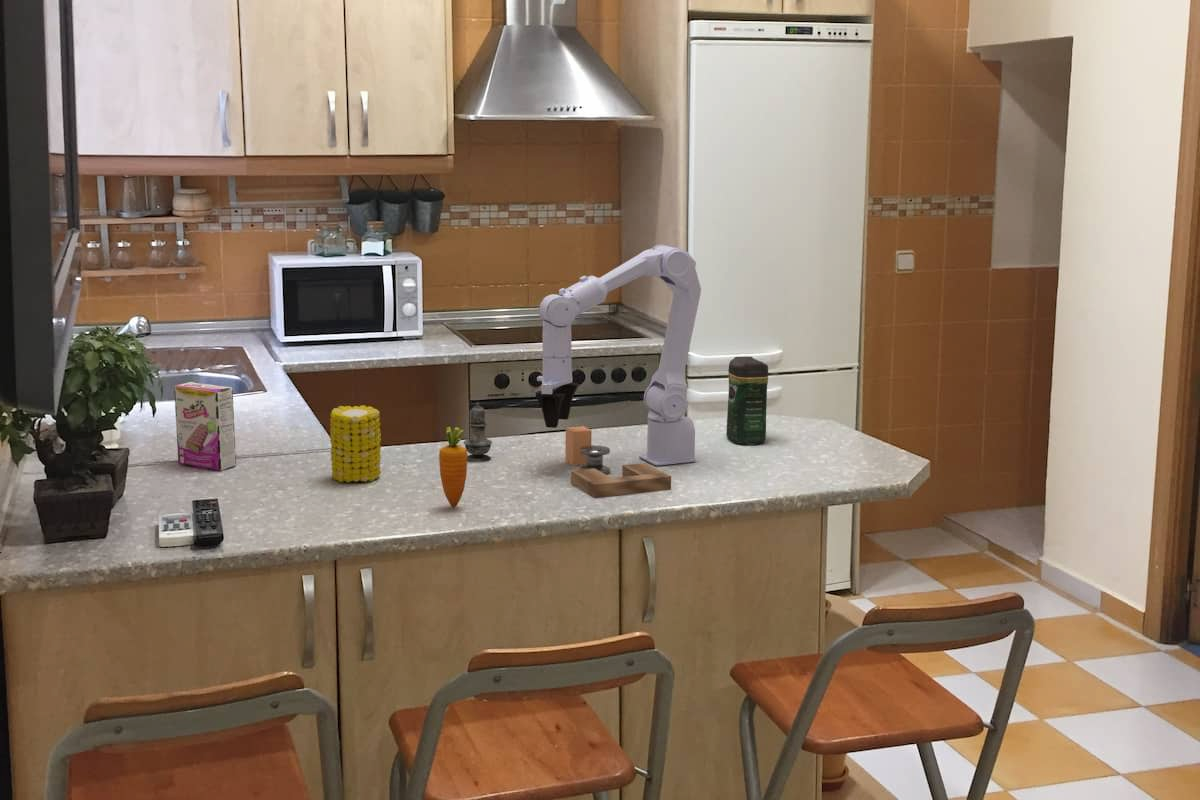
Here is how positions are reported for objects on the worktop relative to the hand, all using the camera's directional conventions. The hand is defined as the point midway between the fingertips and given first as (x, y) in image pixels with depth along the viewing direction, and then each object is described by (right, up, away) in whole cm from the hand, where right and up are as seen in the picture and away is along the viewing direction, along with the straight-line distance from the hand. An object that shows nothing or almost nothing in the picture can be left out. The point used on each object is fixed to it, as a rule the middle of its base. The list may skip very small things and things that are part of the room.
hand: (557, 423), depth 262 cm
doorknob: (+7, -10, 0) cm, 12 cm away
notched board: (+13, -12, -11) cm, 20 cm away
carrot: (-18, -15, -26) cm, 35 cm away
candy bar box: (-70, -9, +1) cm, 71 cm away
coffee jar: (+41, -5, +28) cm, 49 cm away
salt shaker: (-17, -8, +9) cm, 21 cm away
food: (-39, -11, -7) cm, 41 cm away
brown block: (+4, -8, +7) cm, 12 cm away
